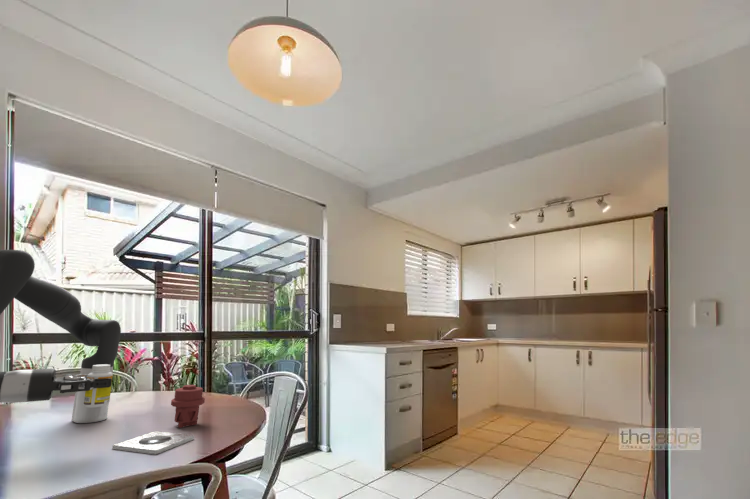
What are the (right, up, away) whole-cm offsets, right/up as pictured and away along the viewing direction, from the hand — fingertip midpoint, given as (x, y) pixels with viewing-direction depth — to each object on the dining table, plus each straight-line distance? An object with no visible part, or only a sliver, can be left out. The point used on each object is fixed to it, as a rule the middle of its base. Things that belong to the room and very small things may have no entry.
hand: (110, 380), depth 106 cm
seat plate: (+10, -19, +4) cm, 21 cm away
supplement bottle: (-2, -6, -2) cm, 7 cm away
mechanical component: (+9, -22, +23) cm, 33 cm away
